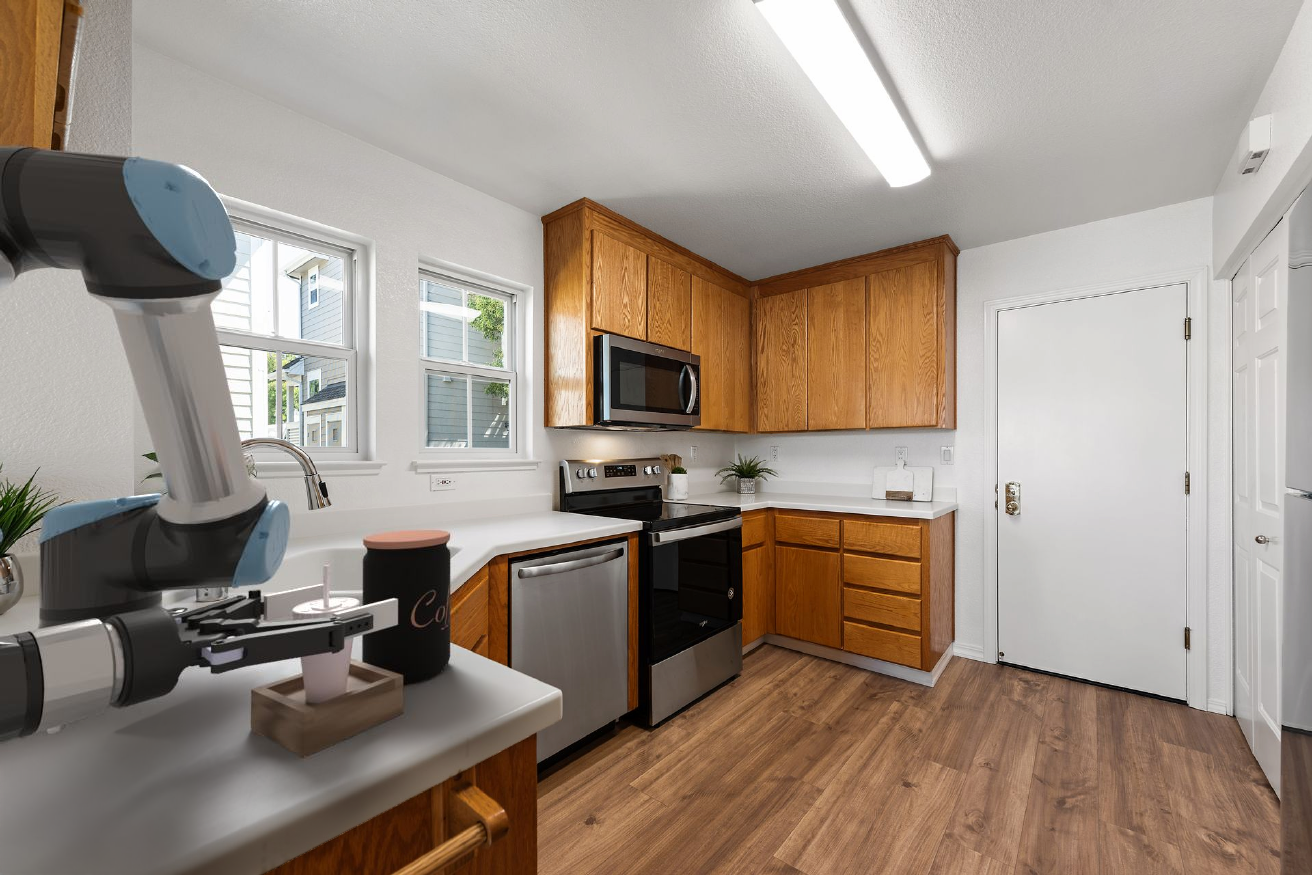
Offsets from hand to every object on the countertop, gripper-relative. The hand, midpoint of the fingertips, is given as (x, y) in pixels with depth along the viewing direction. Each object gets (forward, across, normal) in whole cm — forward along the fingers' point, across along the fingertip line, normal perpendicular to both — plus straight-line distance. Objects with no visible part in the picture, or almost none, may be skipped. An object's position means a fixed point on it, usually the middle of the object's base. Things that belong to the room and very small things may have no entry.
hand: (359, 602), depth 64 cm
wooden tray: (-3, 0, -12) cm, 12 cm away
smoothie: (-4, 0, -9) cm, 10 cm away
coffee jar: (+10, -5, -12) cm, 16 cm away
